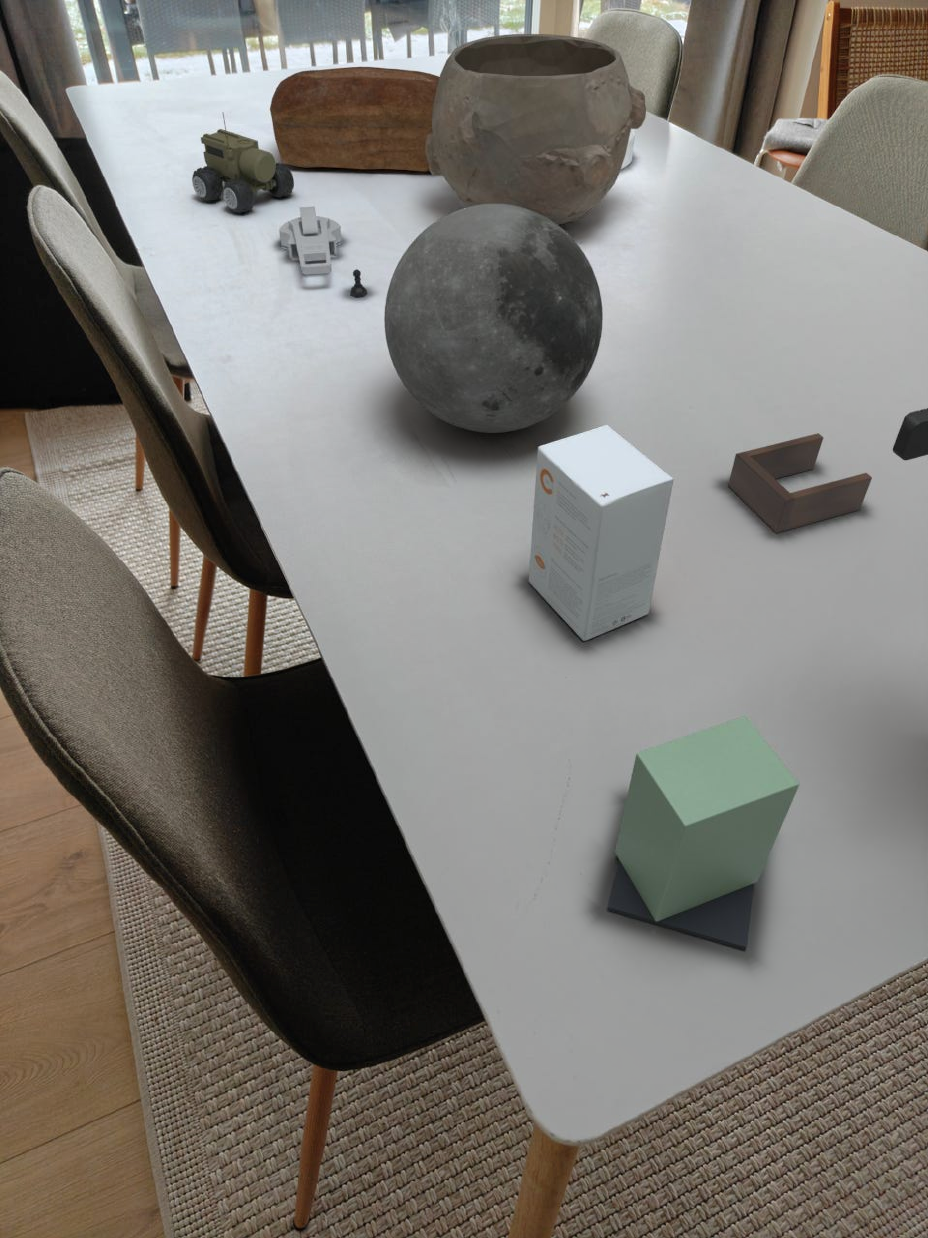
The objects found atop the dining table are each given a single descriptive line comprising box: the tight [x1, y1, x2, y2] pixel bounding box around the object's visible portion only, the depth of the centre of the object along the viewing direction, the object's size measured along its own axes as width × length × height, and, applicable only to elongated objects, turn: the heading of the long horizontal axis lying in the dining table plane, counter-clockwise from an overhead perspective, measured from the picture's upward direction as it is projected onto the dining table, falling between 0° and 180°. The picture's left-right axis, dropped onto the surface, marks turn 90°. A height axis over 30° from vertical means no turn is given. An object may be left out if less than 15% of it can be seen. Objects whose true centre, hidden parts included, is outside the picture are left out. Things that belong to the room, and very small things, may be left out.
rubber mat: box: [607, 859, 755, 951], centre depth 57 cm, size 8×8×1 cm
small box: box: [528, 424, 674, 642], centre depth 70 cm, size 8×6×13 cm
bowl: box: [426, 33, 647, 226], centre depth 122 cm, size 27×29×20 cm
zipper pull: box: [278, 206, 343, 276], centre depth 117 cm, size 8×18×4 cm, turn 10°
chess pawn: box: [349, 268, 368, 298], centre depth 111 cm, size 2×2×3 cm
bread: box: [269, 66, 440, 172], centre depth 141 cm, size 14×28×12 cm, turn 86°
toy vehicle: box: [191, 113, 295, 215], centre depth 130 cm, size 10×11×12 cm
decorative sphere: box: [383, 204, 604, 434], centre depth 86 cm, size 20×20×20 cm
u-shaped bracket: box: [727, 432, 873, 534], centre depth 82 cm, size 9×7×4 cm
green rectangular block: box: [614, 715, 800, 922], centre depth 53 cm, size 7×5×10 cm
